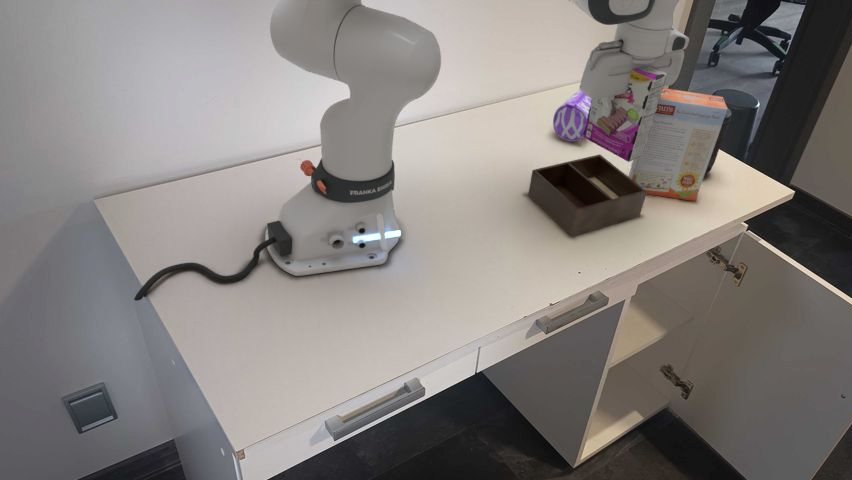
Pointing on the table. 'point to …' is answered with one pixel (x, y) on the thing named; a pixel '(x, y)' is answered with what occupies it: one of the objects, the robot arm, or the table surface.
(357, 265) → the robot arm
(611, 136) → the candy bar box
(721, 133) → the camera lens
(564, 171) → the divided storage box
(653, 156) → the cracker box
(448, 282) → the table surface
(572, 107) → the pencil case
